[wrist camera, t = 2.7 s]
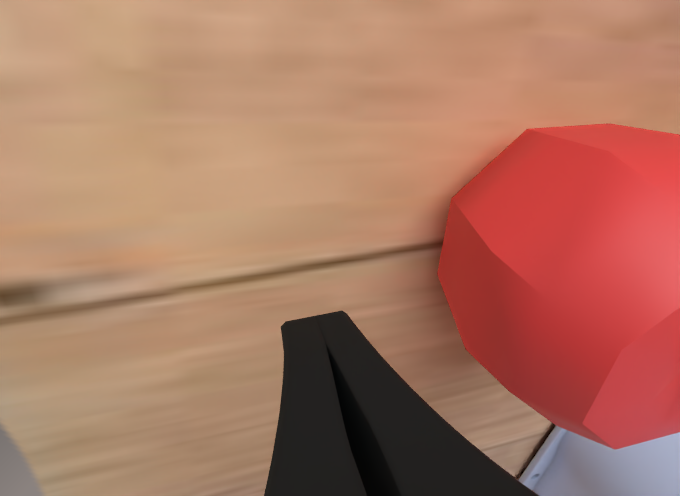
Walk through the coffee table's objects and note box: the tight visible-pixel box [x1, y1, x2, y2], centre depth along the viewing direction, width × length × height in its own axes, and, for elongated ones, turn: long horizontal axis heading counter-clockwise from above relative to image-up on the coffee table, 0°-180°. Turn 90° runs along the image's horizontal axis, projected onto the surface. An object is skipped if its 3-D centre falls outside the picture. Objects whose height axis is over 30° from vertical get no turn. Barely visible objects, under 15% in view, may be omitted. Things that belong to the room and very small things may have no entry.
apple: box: [437, 124, 680, 450], centre depth 11 cm, size 8×8×8 cm
